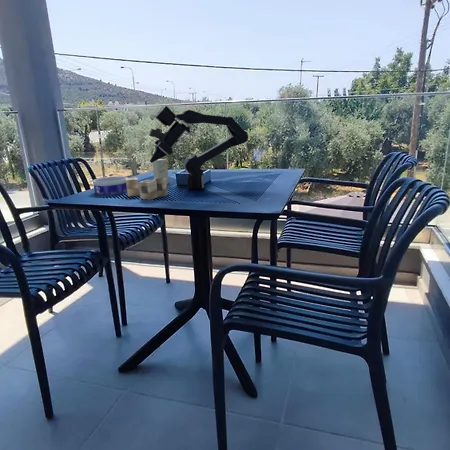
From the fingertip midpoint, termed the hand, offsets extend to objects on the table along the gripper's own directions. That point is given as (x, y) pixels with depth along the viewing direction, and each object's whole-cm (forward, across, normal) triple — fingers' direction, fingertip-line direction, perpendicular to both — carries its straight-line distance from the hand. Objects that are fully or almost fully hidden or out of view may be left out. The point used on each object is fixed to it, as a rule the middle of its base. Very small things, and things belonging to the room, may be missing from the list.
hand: (150, 161), depth 155 cm
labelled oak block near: (+12, +10, +8) cm, 17 cm away
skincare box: (+6, -19, +14) cm, 24 cm away
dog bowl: (+23, -13, -3) cm, 26 cm away
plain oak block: (+16, 0, +3) cm, 16 cm away
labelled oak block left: (+8, +7, +11) cm, 15 cm away
